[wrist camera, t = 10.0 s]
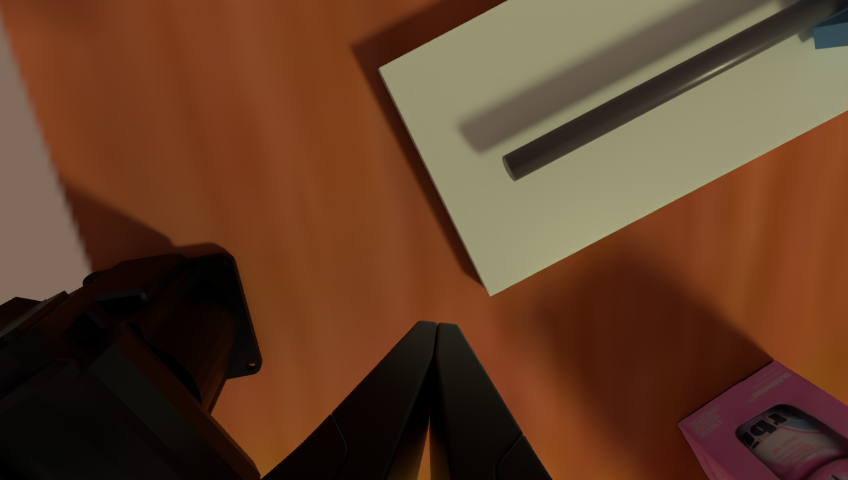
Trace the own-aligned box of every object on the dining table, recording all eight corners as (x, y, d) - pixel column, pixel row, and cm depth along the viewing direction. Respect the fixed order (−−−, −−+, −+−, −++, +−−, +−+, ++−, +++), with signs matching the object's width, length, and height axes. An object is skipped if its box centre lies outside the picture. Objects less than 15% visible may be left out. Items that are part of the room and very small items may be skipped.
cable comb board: (483, 287, 23) (527, 350, 17) (377, 70, 19) (387, 56, 13) (991, 21, 23) (1210, -6, 17) (995, -255, 19) (1286, -417, 13)
